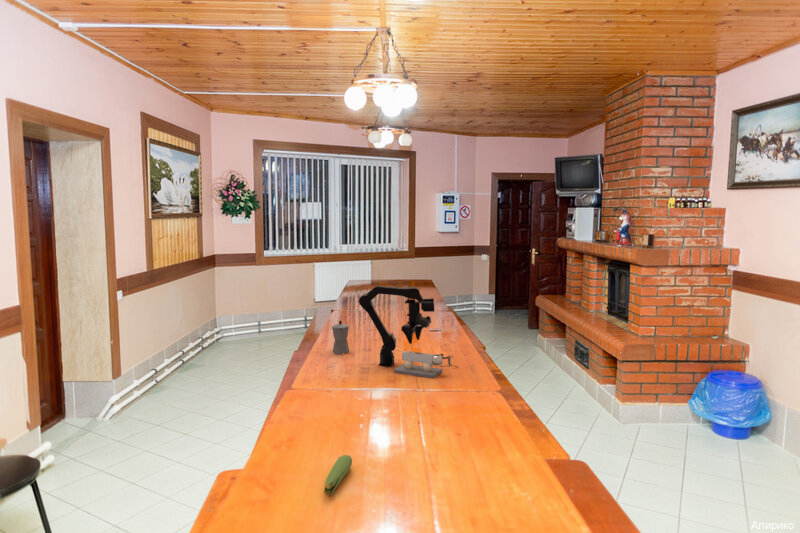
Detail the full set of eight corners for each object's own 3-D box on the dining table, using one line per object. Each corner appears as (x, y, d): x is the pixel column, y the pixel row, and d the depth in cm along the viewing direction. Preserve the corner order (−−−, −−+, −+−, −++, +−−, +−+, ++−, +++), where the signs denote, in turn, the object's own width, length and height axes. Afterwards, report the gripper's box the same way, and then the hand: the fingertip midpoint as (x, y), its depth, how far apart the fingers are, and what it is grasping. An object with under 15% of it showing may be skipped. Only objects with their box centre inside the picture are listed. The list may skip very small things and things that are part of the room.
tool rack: (393, 372, 252) (393, 361, 252) (403, 366, 262) (403, 355, 262) (433, 378, 243) (433, 367, 242) (442, 371, 253) (442, 360, 252)
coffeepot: (349, 355, 284) (349, 322, 282) (332, 355, 283) (331, 323, 281) (348, 347, 299) (348, 317, 297) (332, 348, 298) (331, 317, 296)
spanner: (401, 360, 253) (401, 352, 253) (405, 358, 258) (405, 349, 257) (439, 365, 244) (439, 357, 244) (443, 363, 249) (443, 354, 248)
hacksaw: (439, 355, 283) (439, 353, 282) (458, 356, 282) (458, 353, 281) (437, 369, 259) (437, 366, 259) (458, 369, 258) (458, 366, 258)
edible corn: (356, 453, 160) (343, 448, 161) (333, 489, 140) (318, 483, 141) (352, 468, 161) (339, 462, 162) (328, 505, 141) (313, 499, 142)
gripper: (421, 316, 251) (421, 347, 252) (435, 309, 267) (435, 339, 269) (400, 314, 256) (401, 345, 257) (416, 308, 272) (416, 337, 274)
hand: (414, 341), depth 264 cm, fingers open, 9 cm apart
